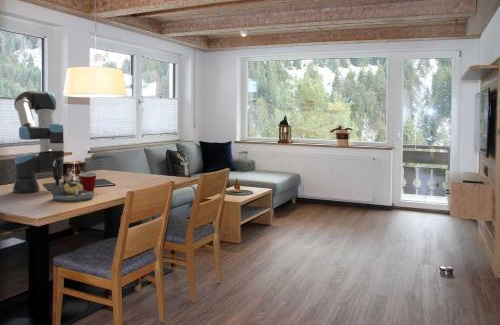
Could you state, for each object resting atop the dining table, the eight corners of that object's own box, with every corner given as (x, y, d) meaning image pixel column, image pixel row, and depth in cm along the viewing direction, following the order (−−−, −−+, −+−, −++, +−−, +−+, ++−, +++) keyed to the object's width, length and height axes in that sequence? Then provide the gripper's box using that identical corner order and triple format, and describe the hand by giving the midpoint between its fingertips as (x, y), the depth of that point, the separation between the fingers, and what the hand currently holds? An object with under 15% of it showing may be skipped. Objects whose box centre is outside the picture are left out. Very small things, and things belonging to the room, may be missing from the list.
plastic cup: (77, 194, 288) (77, 174, 286) (81, 190, 298) (80, 172, 297) (96, 193, 289) (95, 174, 288) (98, 190, 300) (98, 172, 299)
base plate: (56, 195, 282) (55, 184, 281) (94, 194, 288) (94, 183, 287) (49, 202, 261) (49, 191, 260) (91, 201, 266) (91, 190, 266)
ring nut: (82, 190, 281) (81, 180, 280) (83, 193, 271) (83, 183, 270) (50, 192, 274) (50, 182, 273) (51, 195, 264) (50, 185, 263)
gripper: (54, 149, 278) (55, 188, 281) (46, 151, 265) (47, 192, 268) (67, 149, 278) (68, 188, 281) (59, 151, 266) (61, 192, 268)
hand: (58, 190), depth 274 cm, fingers closed
